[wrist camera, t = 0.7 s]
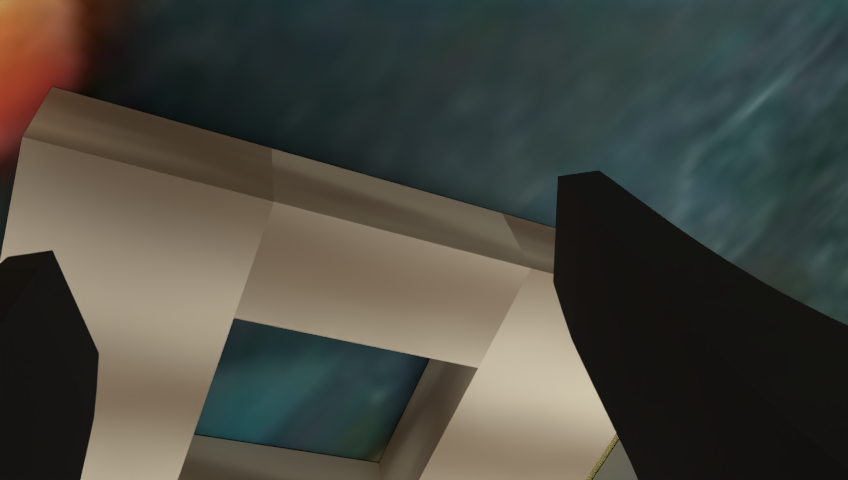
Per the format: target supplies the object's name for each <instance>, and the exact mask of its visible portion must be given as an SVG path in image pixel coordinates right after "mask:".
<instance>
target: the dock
mask: <svg viewBox="0 0 848 480" xmlns="http://www.w3.org/2000/svg"><path fill="white" fill-rule="evenodd" d="M555 231H556V228H553V227H549V226H546V225H542V224H539V223H535V222H532V221H528V220H525V219H521V218H517V217H514V216H510V215H507V214H503V213H500V212H496V211H493V210H489V209H485V208H482V207H478V206H475V205H471V204H468V203H464V202H461V201H457V200H453V199H450V198H446V197H443V196H439V195H436V194H432V193H429V192H425V191H421V190H418V189H414V188H411V187H407V186H404V185H400V184H397V183H393V182H389V181H386V180H382V179H379V178H375V177H372V176H368V175H365V174H361V173H357V172H354V171H350V170H347V169H343V168H340V167H336V166H333V165H329V164H325V163H322V162H318V161H315V160H311V159H308V158H304V157H301V156H297V155H293V154H290V153H286V152H283V151H279V150H276V149H272V148H269V147H265V146H261V145H258V144H254V143H251V142H247V141H244V140H240V139H237V138H233V137H230V136H226V135H222V134H219V133H215V132H212V131H208V130H205V129H201V128H198V127H194V126H190V125H187V124H183V123H180V122H176V121H173V120H169V119H166V118H162V117H158V116H155V115H151V114H148V113H144V112H141V111H137V110H134V109H130V108H126V107H123V106H119V105H116V104H112V103H109V102H105V101H102V100H98V99H94V98H91V97H87V96H84V95H80V94H77V93H73V92H70V91H66V90H62V89H59V88H55V87H51V89H50V91H49V93H48V94H47V96H46V98H45V99H44V101H43V103H42V104H41V106H40V108H39V110H38V111H37V113H36V115H35V116H34V118H33V120H32V121H31V123H30V125H29V127H28V128H27V130H26V132H25V133H24V135H23V137H22V142H21V148H20V153H19V159H18V164H17V170H16V175H15V181H14V187H13V192H12V198H11V203H10V209H9V214H8V220H7V225H6V231H5V236H4V242H3V247H2V253H1V258H0V263H1V262H2V261H3V260H4V259H6V258H7V257H9V256H16V255H23V254H30V253H36V252H43V251H50V250H53V252H54V255H55V257H56V259H57V261H58V263H59V266H60V268H61V270H62V272H63V275H64V277H65V279H66V281H67V283H68V286H69V288H70V290H71V292H72V295H73V297H74V299H75V301H76V303H77V306H78V308H79V310H80V312H81V315H82V317H83V319H84V321H85V323H86V326H87V328H88V330H89V332H90V335H91V337H92V339H93V341H94V343H95V346H96V348H97V350H98V352H99V363H98V379H97V393H96V403H95V414H94V421H93V425H92V430H91V435H90V440H89V444H88V449H87V453H86V458H85V462H84V467H83V471H82V475H81V480H586V479H587V477H588V476H589V474H590V473H591V471H592V470H593V468H594V466H595V465H596V463H597V462H598V460H599V459H600V457H601V456H602V454H603V453H604V451H605V450H606V448H607V447H608V445H609V444H610V442H611V441H612V439H613V438H614V436H615V435H616V431H615V429H614V427H613V425H612V423H611V421H610V419H609V417H608V415H607V413H606V411H605V408H604V406H603V404H602V402H601V400H600V398H599V396H598V394H597V392H596V390H595V388H594V386H593V384H592V382H591V379H590V377H589V375H588V373H587V371H586V369H585V367H584V365H583V363H582V361H581V358H580V356H579V354H578V352H577V350H576V348H575V346H574V343H573V341H572V339H571V336H570V333H569V330H568V327H567V324H566V321H565V318H564V315H563V312H562V309H561V306H560V303H559V300H558V296H557V293H556V290H555V287H554V284H553V273H554V252H555ZM234 318H237V319H242V320H247V321H251V322H256V323H261V324H266V325H271V326H276V327H281V328H286V329H290V330H295V331H300V332H305V333H310V334H315V335H320V336H324V337H329V338H334V339H339V340H344V341H349V342H354V343H359V344H363V345H368V346H373V347H378V348H383V349H388V350H393V351H397V352H402V353H407V354H412V355H417V356H422V357H427V358H430V360H429V362H428V364H427V366H426V368H425V370H424V372H423V374H422V376H421V378H420V380H419V382H418V384H417V386H416V389H415V391H414V393H413V395H412V397H411V399H410V401H409V403H408V405H407V407H406V409H405V411H404V413H403V415H402V417H401V419H400V421H399V423H398V425H397V427H396V429H395V431H394V433H393V435H392V437H391V439H390V441H389V443H388V445H387V447H386V449H385V451H384V453H383V455H382V457H381V459H380V462H379V463H375V462H369V461H362V460H356V459H349V458H343V457H336V456H329V455H323V454H316V453H310V452H303V451H297V450H290V449H284V448H277V447H271V446H264V445H258V444H251V443H245V442H238V441H232V440H225V439H219V438H212V437H206V436H199V435H193V434H194V431H195V428H196V426H197V423H198V420H199V417H200V414H201V411H202V408H203V405H204V403H205V400H206V397H207V394H208V391H209V388H210V385H211V382H212V379H213V377H214V374H215V371H216V368H217V365H218V362H219V359H220V356H221V353H222V351H223V348H224V345H225V342H226V339H227V336H228V333H229V330H230V327H231V325H232V322H233V319H234Z"/></svg>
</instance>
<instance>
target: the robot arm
mask: <svg viewBox="0 0 848 480" xmlns="http://www.w3.org/2000/svg"><path fill="white" fill-rule="evenodd" d="M553 284H554V287H555V290H556V293H557V296H558V300H559V303H560V306H561V309H562V312H563V315H564V318H565V321H566V324H567V327H568V330H569V333H570V336H571V339H572V341H573V343H574V346H575V348H576V350H577V352H578V354H579V356H580V358H581V361H582V363H583V365H584V367H585V369H586V371H587V373H588V375H589V377H590V379H591V382H592V384H593V386H594V388H595V390H596V392H597V394H598V396H599V398H600V400H601V402H602V404H603V406H604V408H605V411H606V413H607V415H608V417H609V419H610V421H611V423H612V425H613V427H614V429H615V431H616V433H617V435H618V437H619V440H620V442H621V444H622V446H623V448H624V450H625V452H626V454H627V456H628V458H629V460H630V462H631V465H632V467H633V469H634V472H635V474H636V476H637V479H638V480H848V325H845V324H843V323H841V322H839V321H837V320H835V319H832V318H830V317H828V316H826V315H824V314H822V313H820V312H818V311H816V310H815V309H813V308H811V307H809V306H807V305H805V304H803V303H801V302H799V301H797V300H795V299H793V298H791V297H789V296H787V295H785V294H783V293H781V292H780V291H778V290H776V289H774V288H772V287H771V286H769V285H767V284H765V283H763V282H762V281H760V280H758V279H757V278H755V277H753V276H752V275H750V274H748V273H747V272H745V271H744V270H742V269H740V268H739V267H737V266H735V265H734V264H732V263H730V262H729V261H727V260H725V259H724V258H722V257H721V256H719V255H718V254H716V253H715V252H713V251H711V250H710V249H708V248H707V247H705V246H704V245H702V244H701V243H699V242H698V241H696V240H695V239H693V238H692V237H690V236H689V235H688V234H686V233H685V232H683V231H682V230H680V229H679V228H677V227H676V226H675V225H673V224H672V223H670V222H669V221H668V220H666V219H665V218H663V217H662V216H661V215H659V214H658V213H657V212H655V211H654V210H652V209H651V208H650V207H648V206H647V205H646V204H644V203H643V202H641V201H640V200H639V199H637V198H636V197H635V196H633V195H632V194H631V193H629V192H628V191H627V190H625V189H624V188H623V187H621V186H620V185H618V184H617V183H616V182H614V181H613V180H612V179H610V178H609V177H607V176H606V175H604V174H603V173H602V172H600V171H592V172H585V173H578V174H571V175H564V176H558V189H557V210H556V231H555V252H554V273H553ZM98 363H99V352H98V350H97V348H96V346H95V343H94V341H93V339H92V337H91V335H90V332H89V330H88V328H87V326H86V323H85V321H84V319H83V317H82V315H81V312H80V310H79V308H78V306H77V303H76V301H75V299H74V297H73V295H72V292H71V290H70V288H69V286H68V283H67V281H66V279H65V277H64V275H63V272H62V270H61V268H60V266H59V263H58V261H57V259H56V257H55V255H54V252H53V250H50V251H43V252H36V253H30V254H23V255H16V256H9V257H7V258H6V259H4V260H3V261H2V262H1V263H0V480H81V475H82V471H83V467H84V462H85V458H86V453H87V449H88V444H89V440H90V435H91V430H92V425H93V421H94V414H95V403H96V393H97V379H98Z"/></svg>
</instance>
